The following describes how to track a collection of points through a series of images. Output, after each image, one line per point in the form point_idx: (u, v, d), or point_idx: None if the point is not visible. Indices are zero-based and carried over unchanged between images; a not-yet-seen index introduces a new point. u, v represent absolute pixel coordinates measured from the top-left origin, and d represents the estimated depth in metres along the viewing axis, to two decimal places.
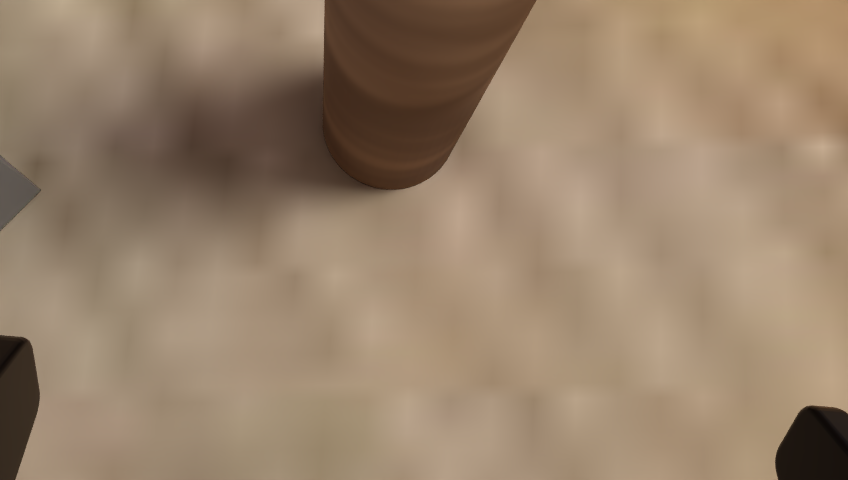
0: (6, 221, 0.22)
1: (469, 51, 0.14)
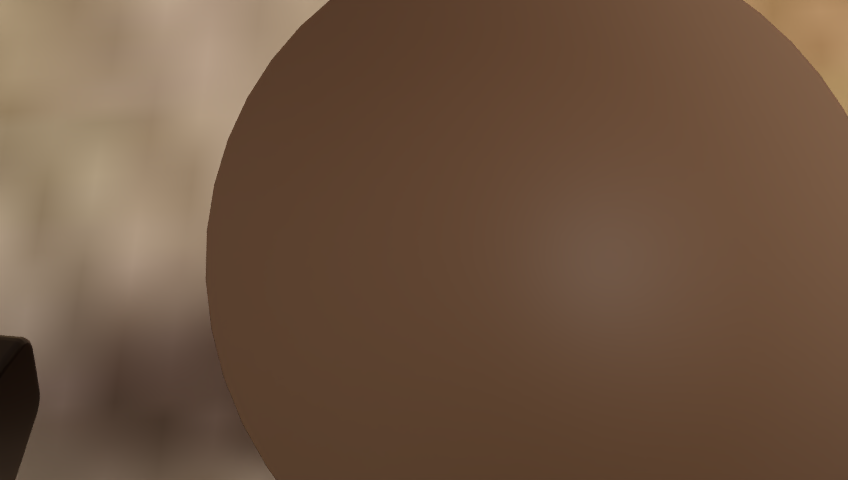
0: None
1: None
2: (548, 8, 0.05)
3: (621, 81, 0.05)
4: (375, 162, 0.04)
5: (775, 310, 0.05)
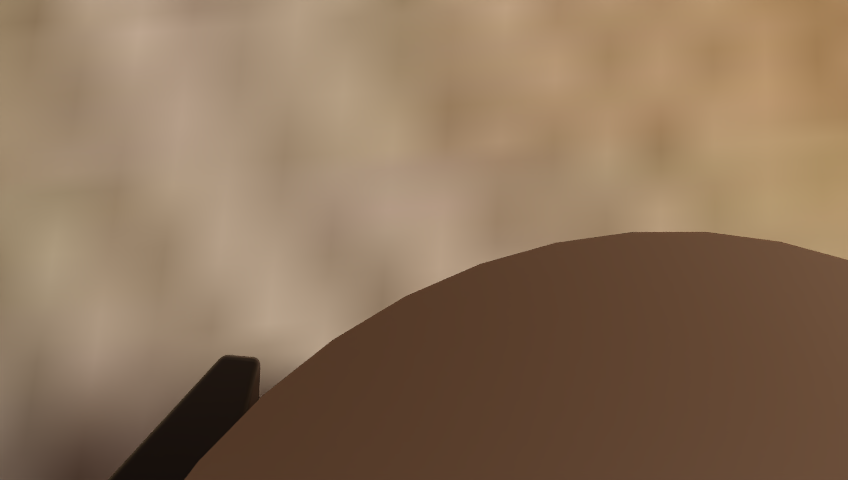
0: None
1: None
2: (669, 385, 0.03)
3: None
4: None
5: None
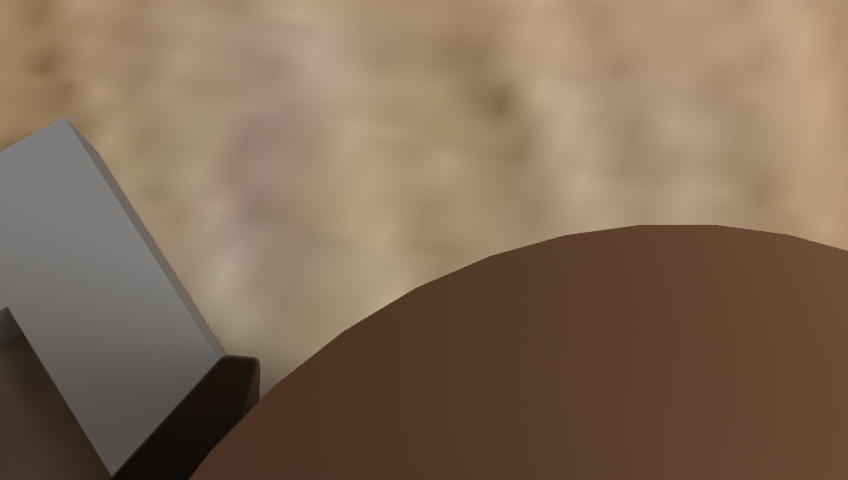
0: None
1: None
2: (678, 376, 0.03)
3: None
4: None
5: None
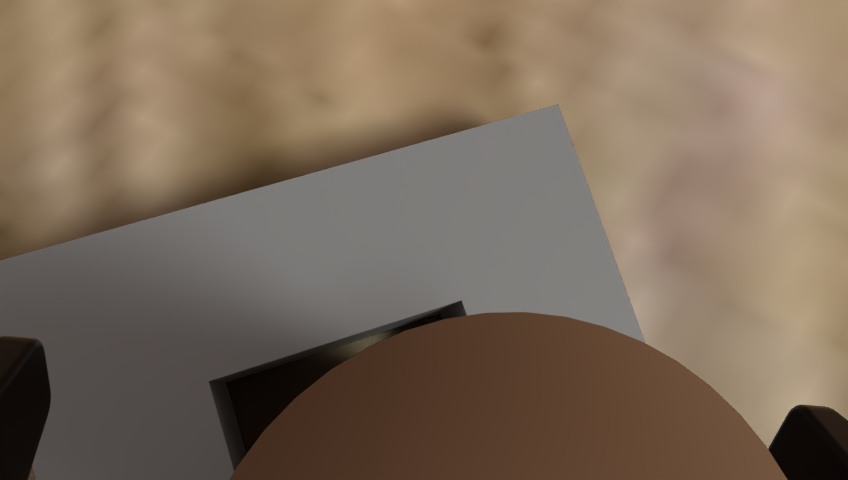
0: None
1: None
2: (504, 392, 0.05)
3: (574, 466, 0.05)
4: None
5: None
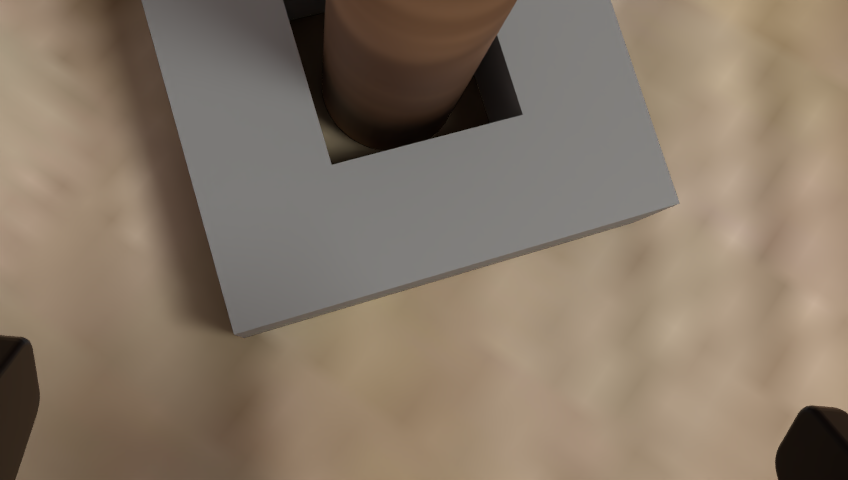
0: None
1: (474, 6, 0.14)
2: None
3: None
4: None
5: None
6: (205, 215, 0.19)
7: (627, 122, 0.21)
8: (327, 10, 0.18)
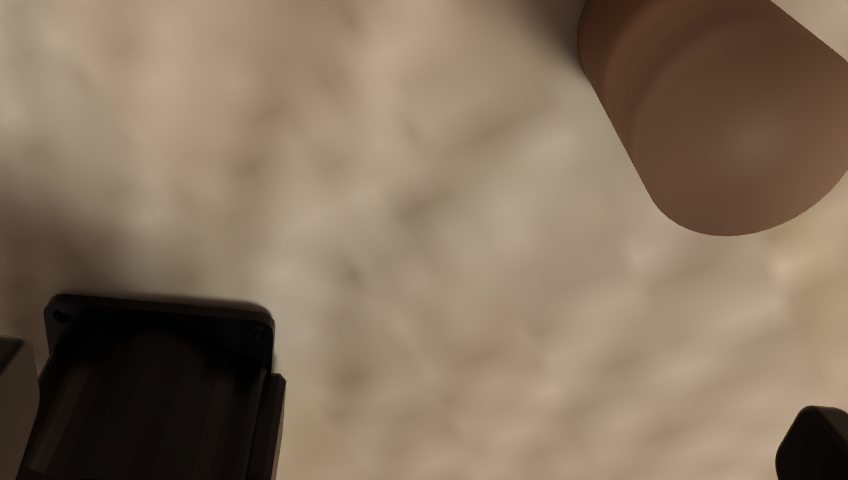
0: None
1: None
2: None
3: None
4: None
5: None
6: None
7: None
8: None
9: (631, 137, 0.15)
